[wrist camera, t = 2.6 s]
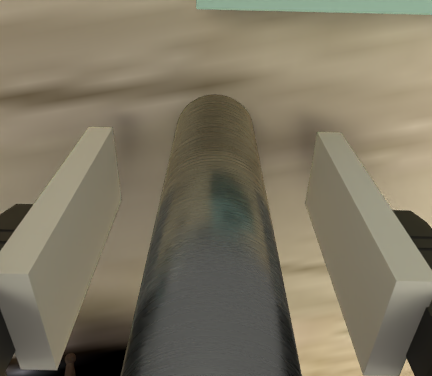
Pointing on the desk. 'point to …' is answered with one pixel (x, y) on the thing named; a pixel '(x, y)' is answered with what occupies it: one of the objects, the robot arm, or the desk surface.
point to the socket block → (323, 6)
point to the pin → (212, 259)
